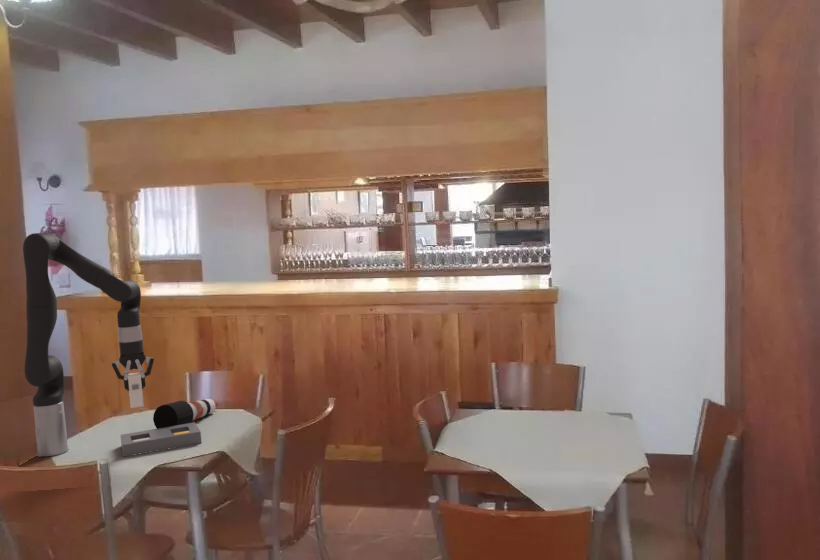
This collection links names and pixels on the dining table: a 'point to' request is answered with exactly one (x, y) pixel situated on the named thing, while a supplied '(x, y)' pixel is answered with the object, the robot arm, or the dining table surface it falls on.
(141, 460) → the dining table surface
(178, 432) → the panel
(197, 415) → the black white red bottle
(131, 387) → the plug
